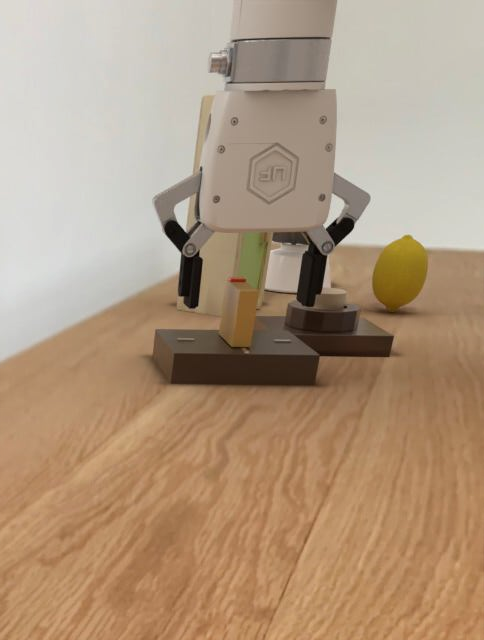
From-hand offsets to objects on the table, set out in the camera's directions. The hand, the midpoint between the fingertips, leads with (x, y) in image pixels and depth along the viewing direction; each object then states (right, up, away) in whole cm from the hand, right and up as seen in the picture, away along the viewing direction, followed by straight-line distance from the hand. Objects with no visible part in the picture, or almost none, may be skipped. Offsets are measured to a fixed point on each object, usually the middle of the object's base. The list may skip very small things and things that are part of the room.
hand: (247, 305), depth 94 cm
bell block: (+10, +1, +13) cm, 17 cm away
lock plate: (-1, -5, +3) cm, 6 cm away
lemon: (+25, +11, +30) cm, 41 cm away
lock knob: (-1, -2, +2) cm, 3 cm away
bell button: (+11, +4, +12) cm, 16 cm away
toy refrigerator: (+6, +11, +31) cm, 33 cm away
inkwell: (+16, +17, +41) cm, 47 cm away
